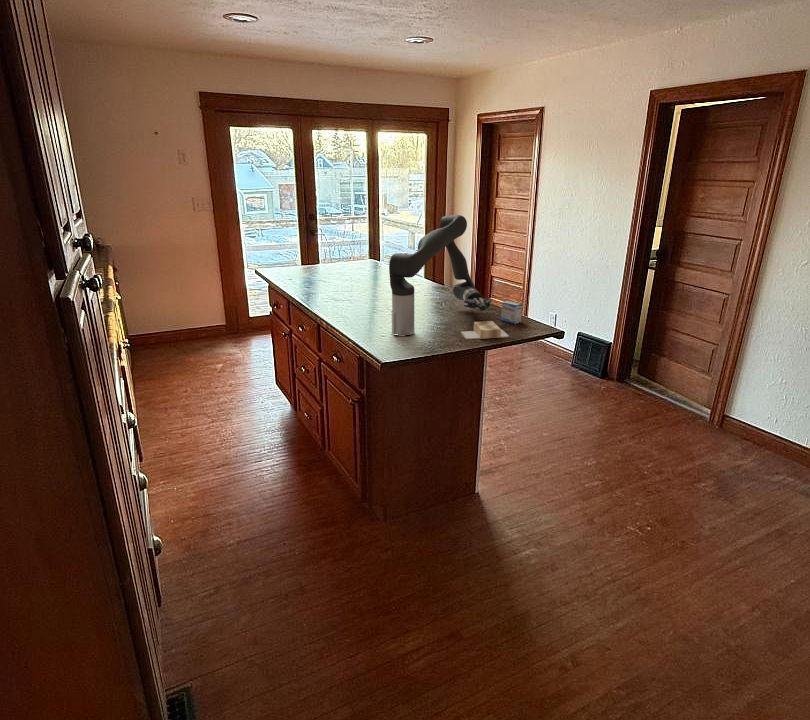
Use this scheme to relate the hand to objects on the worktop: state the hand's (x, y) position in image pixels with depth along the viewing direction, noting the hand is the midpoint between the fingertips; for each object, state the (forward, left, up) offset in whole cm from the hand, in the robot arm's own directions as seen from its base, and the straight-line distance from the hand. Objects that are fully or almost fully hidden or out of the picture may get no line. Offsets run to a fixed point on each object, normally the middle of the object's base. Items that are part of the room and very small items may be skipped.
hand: (483, 308), depth 218 cm
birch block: (0, -1, -7) cm, 7 cm away
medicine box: (+16, +10, -10) cm, 21 cm away
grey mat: (-1, -7, -9) cm, 12 cm away
